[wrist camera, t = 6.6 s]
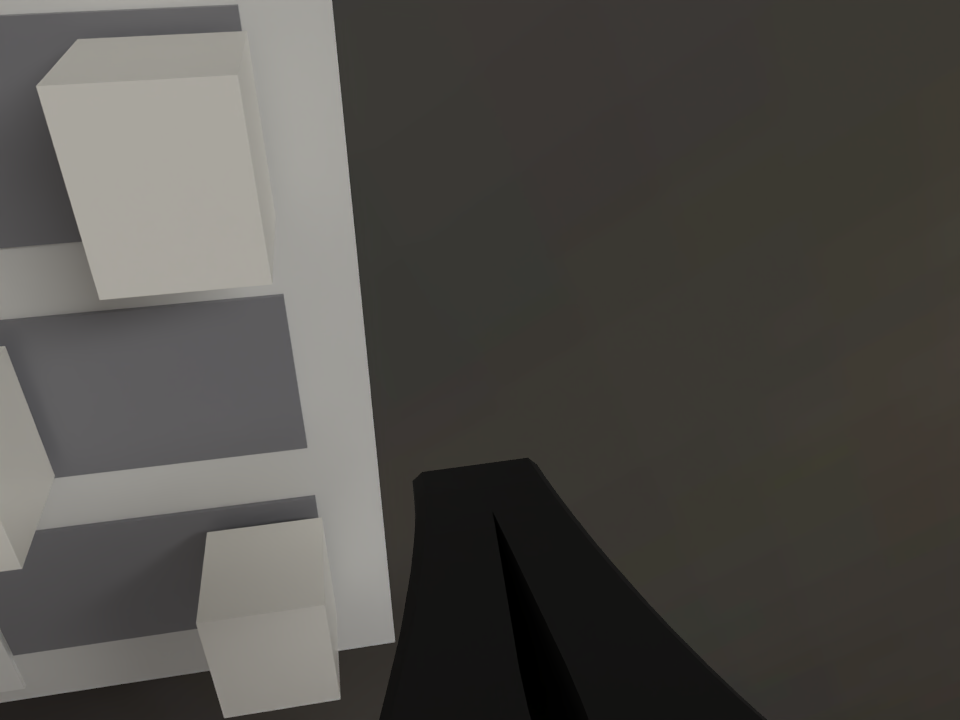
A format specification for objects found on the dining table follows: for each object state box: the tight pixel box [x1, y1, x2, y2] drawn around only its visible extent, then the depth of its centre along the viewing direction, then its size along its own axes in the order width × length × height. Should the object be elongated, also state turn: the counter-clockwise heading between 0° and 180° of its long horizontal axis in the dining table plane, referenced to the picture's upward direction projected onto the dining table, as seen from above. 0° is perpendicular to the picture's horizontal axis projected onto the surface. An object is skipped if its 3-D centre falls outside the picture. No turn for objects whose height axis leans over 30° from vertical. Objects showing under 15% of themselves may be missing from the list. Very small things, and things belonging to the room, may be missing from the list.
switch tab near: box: [36, 31, 275, 300], centre depth 12 cm, size 3×2×2 cm
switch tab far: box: [196, 517, 341, 718], centre depth 18 cm, size 3×2×2 cm
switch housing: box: [0, 0, 395, 703], centre depth 17 cm, size 17×10×2 cm, turn 0°
